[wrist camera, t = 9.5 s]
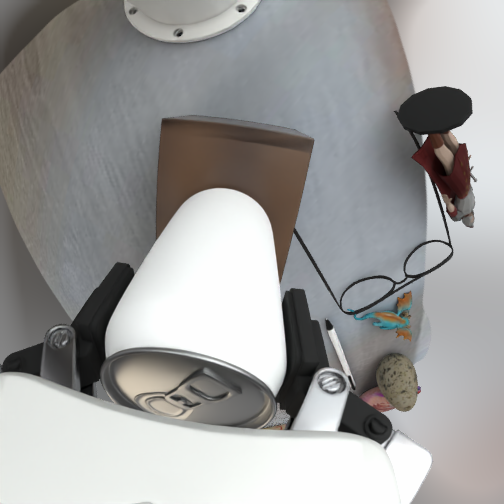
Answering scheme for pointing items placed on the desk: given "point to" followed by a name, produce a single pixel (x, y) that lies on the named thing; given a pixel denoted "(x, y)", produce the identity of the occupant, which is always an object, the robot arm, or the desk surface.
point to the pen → (340, 352)
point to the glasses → (404, 262)
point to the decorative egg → (398, 381)
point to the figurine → (443, 145)
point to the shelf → (234, 169)
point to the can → (202, 319)
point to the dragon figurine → (394, 317)
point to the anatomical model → (378, 399)
